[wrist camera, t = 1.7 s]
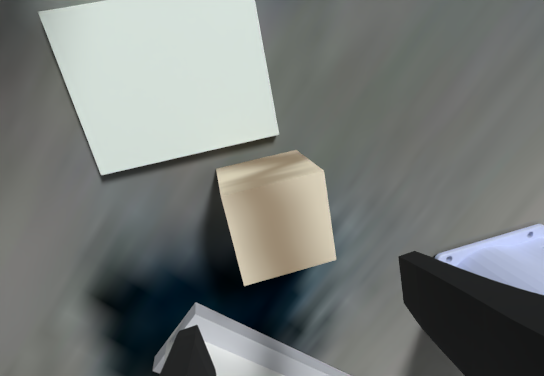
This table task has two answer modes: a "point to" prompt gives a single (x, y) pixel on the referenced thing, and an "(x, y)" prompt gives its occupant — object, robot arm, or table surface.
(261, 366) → the divider screen
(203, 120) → the sage pad
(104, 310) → the table surface
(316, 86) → the table surface
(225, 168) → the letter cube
